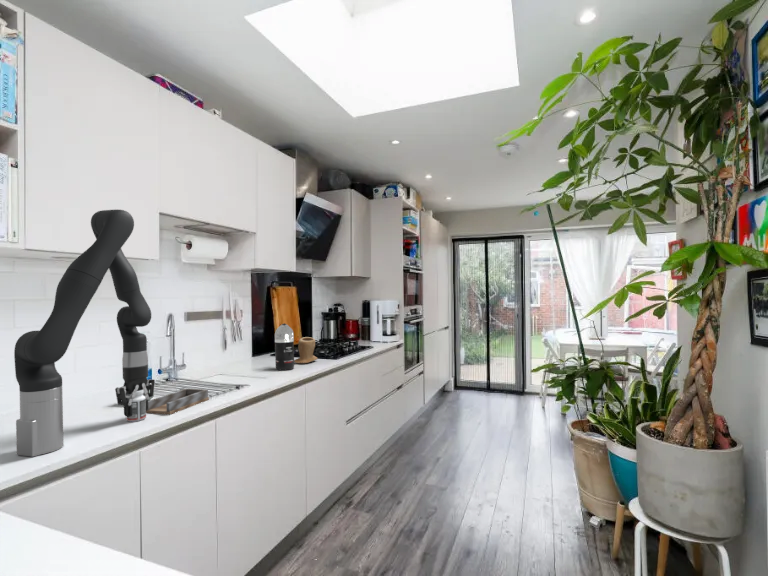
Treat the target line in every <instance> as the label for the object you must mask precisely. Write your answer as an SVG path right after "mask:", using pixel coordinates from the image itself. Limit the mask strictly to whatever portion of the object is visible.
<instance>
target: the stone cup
mask: <svg viewBox="0 0 768 576" xmlns="http://www.w3.org/2000/svg"><path fill="white" fill-rule="evenodd" d="M297 347H298V353H299V357H298V358H296V359H294V363H296V364H309V363H311V362H313V361H316V360H318V359H319V358H318V357H317V356H315V355H314V351H315V349H316V339H315V338H314V337H309V336H305V337H304V336H303V337H301V338H299V340H298V346H297Z"/></svg>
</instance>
